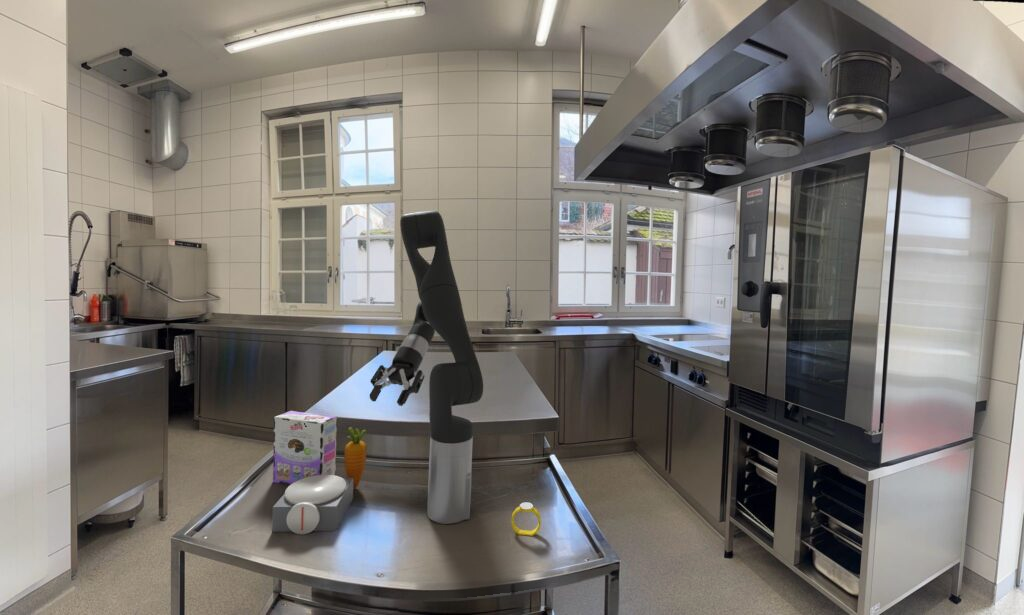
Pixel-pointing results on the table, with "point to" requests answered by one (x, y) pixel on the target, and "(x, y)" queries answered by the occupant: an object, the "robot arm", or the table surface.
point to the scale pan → (315, 489)
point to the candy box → (303, 446)
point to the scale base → (311, 513)
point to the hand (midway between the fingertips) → (385, 402)
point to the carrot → (355, 456)
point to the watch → (526, 508)
